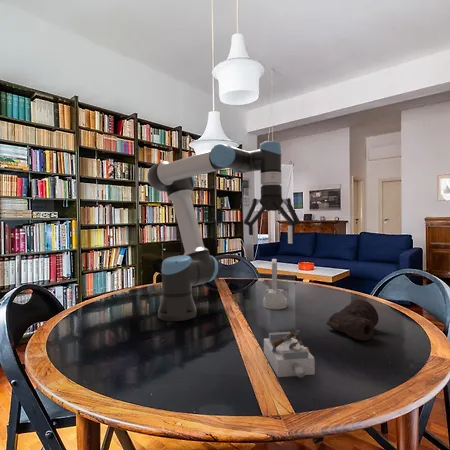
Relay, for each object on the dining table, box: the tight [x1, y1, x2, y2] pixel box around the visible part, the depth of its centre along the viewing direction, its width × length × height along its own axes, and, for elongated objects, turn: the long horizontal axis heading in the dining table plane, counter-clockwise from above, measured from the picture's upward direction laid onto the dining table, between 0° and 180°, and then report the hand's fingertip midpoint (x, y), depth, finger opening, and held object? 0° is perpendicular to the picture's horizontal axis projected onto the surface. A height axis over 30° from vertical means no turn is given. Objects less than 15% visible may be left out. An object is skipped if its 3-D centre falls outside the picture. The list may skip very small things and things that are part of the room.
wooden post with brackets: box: [271, 329, 303, 350], centre depth 81 cm, size 2×8×4 cm, turn 97°
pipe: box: [325, 298, 379, 342], centre depth 103 cm, size 10×15×15 cm
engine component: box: [262, 258, 288, 310], centre depth 137 cm, size 11×20×10 cm
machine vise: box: [263, 331, 316, 379], centre depth 80 cm, size 10×17×6 cm, turn 6°
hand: (272, 243), depth 113 cm, fingers open, 13 cm apart
